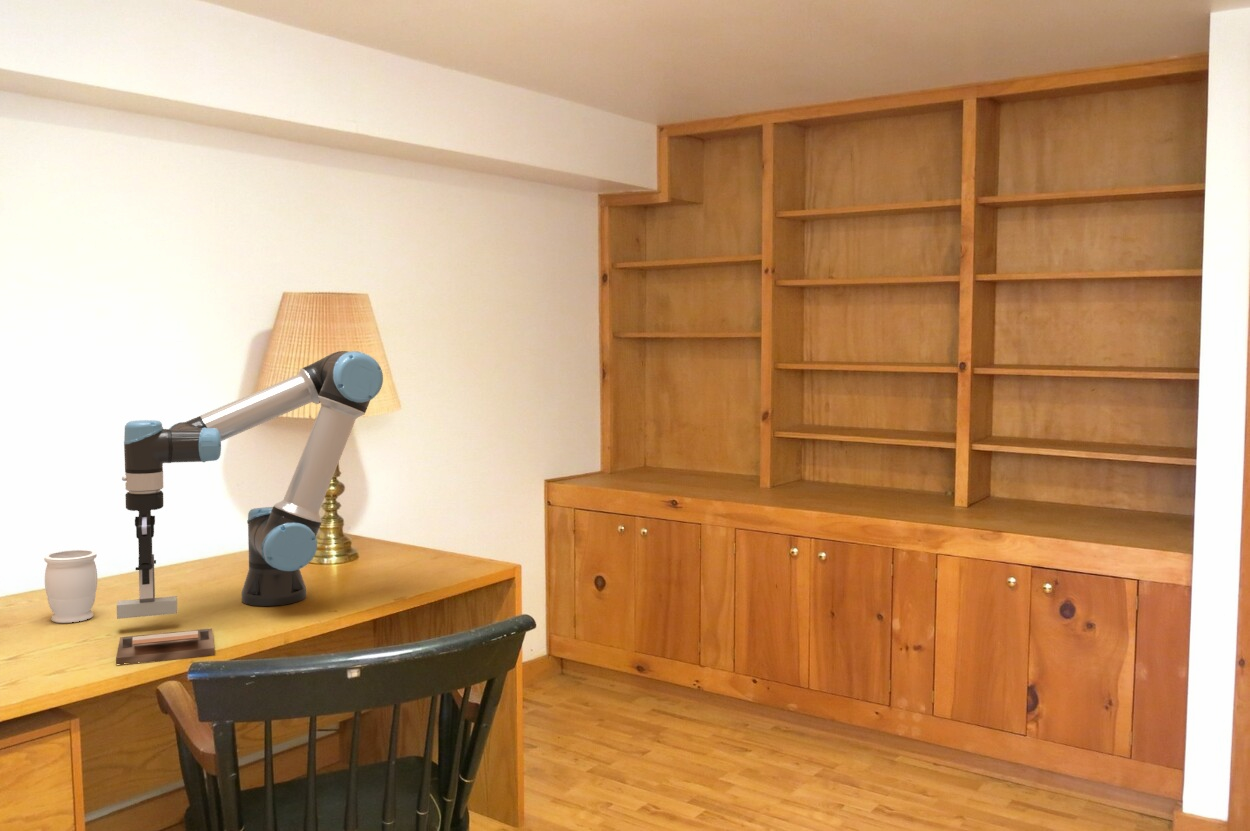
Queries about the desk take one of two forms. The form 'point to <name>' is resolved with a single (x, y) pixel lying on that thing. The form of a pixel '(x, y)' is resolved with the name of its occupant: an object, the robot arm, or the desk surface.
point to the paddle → (147, 605)
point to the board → (165, 648)
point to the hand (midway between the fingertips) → (146, 595)
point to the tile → (165, 637)
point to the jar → (71, 585)
